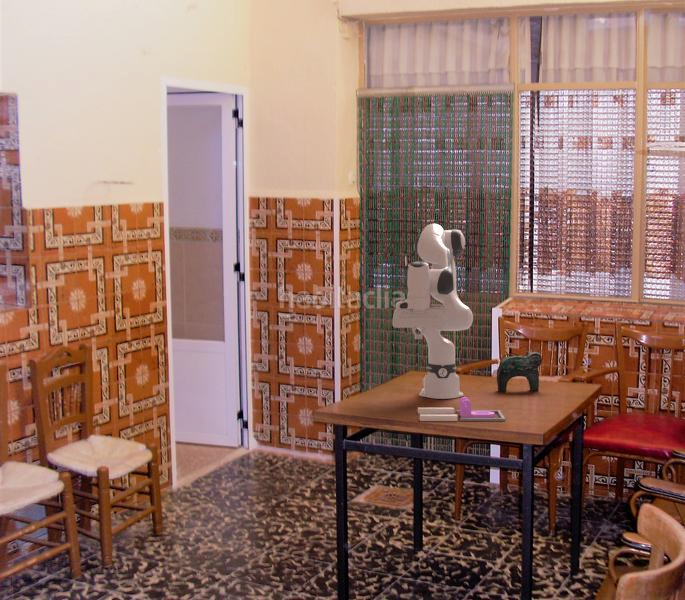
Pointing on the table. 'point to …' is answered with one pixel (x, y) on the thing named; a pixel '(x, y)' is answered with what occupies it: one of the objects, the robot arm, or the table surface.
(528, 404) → the table surface
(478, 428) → the table surface
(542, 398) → the table surface
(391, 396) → the table surface
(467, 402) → the bracket
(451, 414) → the cream grey rectangular frame
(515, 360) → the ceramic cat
